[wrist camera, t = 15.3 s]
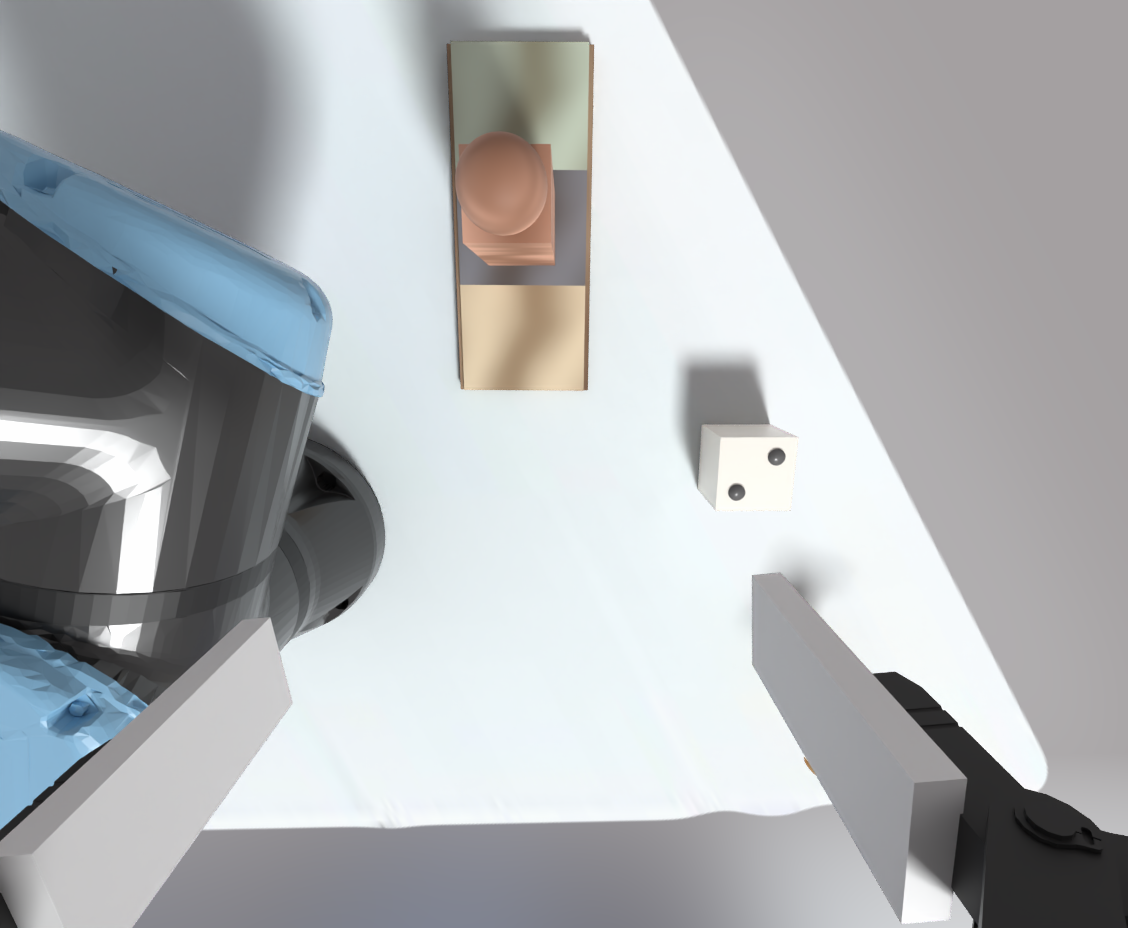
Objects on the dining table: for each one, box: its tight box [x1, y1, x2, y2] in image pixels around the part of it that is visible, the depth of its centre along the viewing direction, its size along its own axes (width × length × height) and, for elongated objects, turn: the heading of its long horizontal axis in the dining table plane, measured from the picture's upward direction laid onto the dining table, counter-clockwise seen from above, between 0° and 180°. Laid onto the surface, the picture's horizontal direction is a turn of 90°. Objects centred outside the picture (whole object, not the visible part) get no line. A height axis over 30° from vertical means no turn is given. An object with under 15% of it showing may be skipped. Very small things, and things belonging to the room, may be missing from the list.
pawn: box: [455, 131, 555, 266], centre depth 28 cm, size 4×4×13 cm
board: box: [447, 41, 594, 391], centre depth 35 cm, size 9×21×1 cm, turn 0°
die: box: [698, 424, 799, 511], centre depth 37 cm, size 5×5×5 cm
